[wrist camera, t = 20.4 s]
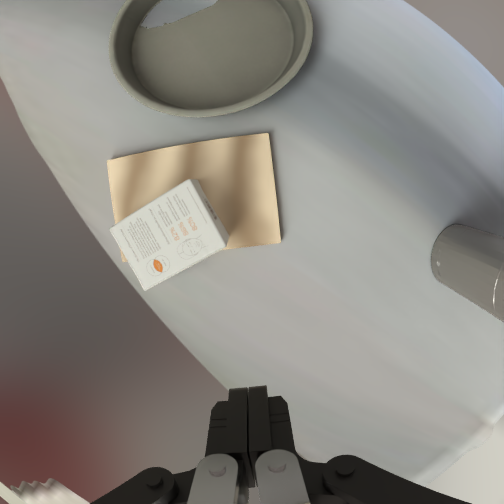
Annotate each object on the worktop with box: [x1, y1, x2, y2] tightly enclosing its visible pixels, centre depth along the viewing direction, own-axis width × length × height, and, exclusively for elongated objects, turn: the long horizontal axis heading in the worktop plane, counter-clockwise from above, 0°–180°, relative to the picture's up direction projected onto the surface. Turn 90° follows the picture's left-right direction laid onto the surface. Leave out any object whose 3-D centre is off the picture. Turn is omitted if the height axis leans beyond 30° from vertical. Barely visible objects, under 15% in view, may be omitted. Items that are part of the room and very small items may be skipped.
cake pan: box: [109, 0, 313, 117], centre depth 30 cm, size 25×25×4 cm
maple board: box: [107, 133, 281, 262], centre depth 36 cm, size 20×13×1 cm, turn 97°
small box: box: [109, 179, 229, 291], centre depth 33 cm, size 8×6×10 cm
